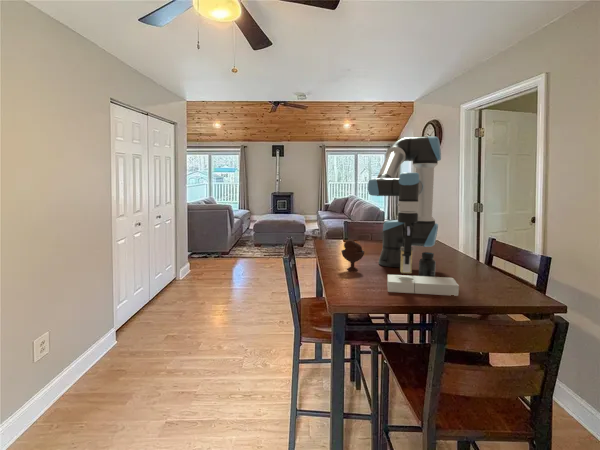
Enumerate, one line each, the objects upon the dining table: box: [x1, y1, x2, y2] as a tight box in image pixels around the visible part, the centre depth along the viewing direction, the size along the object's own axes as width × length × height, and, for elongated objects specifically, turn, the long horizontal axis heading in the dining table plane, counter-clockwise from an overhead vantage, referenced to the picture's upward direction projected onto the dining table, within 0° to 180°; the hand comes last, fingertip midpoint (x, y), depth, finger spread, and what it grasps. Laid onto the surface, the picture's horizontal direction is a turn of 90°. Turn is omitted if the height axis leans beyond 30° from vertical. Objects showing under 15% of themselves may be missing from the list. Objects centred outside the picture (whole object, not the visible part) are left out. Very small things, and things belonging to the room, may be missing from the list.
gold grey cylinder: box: [399, 246, 414, 274], centre depth 150 cm, size 5×5×10 cm
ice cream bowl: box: [340, 239, 365, 272], centre depth 183 cm, size 11×11×15 cm
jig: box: [386, 274, 460, 297], centre depth 150 cm, size 12×26×4 cm, turn 78°
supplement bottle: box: [418, 251, 437, 277], centre depth 164 cm, size 7×7×12 cm
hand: (406, 270), depth 151 cm, fingers closed on gold grey cylinder, 4 cm apart
